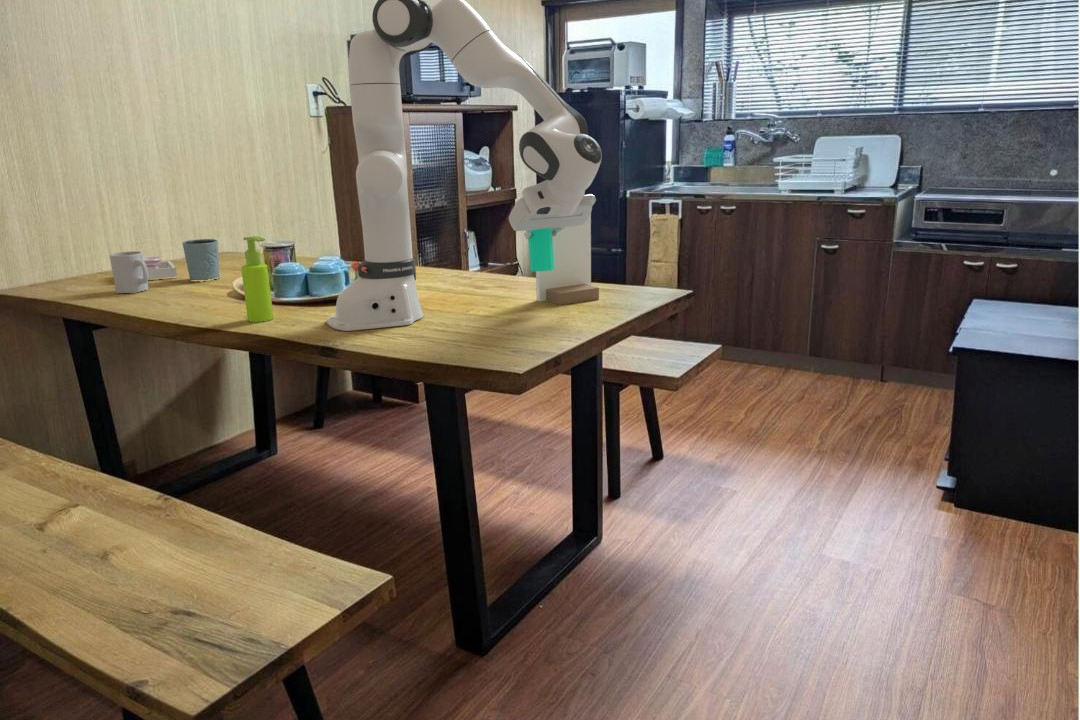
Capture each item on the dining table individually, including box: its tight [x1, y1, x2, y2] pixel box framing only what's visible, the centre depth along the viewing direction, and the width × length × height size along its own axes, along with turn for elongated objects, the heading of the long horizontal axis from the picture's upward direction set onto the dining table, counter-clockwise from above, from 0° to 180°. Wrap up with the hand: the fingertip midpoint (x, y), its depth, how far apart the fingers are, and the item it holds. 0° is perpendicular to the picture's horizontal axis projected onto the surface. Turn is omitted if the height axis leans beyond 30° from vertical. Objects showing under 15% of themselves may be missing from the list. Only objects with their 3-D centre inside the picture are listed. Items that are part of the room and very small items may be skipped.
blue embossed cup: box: [182, 238, 221, 281], centre depth 241 cm, size 10×10×12 cm
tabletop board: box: [535, 212, 600, 306], centre depth 201 cm, size 16×8×22 cm, turn 121°
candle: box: [527, 228, 554, 273], centre depth 189 cm, size 6×6×12 cm
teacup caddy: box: [148, 260, 178, 279], centre depth 248 cm, size 16×16×4 cm
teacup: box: [143, 255, 162, 270], centre depth 248 cm, size 12×12×6 cm
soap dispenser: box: [240, 235, 274, 323], centre depth 186 cm, size 6×7×20 cm
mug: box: [109, 251, 149, 294], centre depth 225 cm, size 12×8×11 cm
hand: (539, 235), depth 189 cm, fingers closed on candle, 5 cm apart
